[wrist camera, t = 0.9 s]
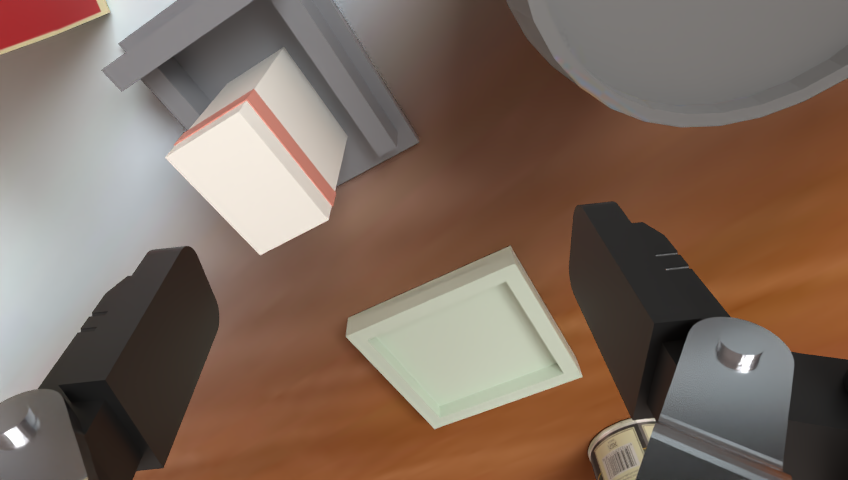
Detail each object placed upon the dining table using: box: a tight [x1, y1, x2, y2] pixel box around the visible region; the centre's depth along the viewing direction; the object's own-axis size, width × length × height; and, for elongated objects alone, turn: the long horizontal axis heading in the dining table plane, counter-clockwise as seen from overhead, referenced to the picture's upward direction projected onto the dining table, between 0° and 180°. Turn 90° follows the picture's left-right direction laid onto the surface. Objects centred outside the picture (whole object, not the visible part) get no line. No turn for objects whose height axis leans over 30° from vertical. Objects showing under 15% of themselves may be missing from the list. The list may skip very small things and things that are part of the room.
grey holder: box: [102, 0, 419, 186], centre depth 28 cm, size 11×13×5 cm
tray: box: [346, 246, 583, 429], centre depth 41 cm, size 14×14×2 cm
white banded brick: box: [165, 47, 348, 255], centre depth 26 cm, size 4×6×9 cm
